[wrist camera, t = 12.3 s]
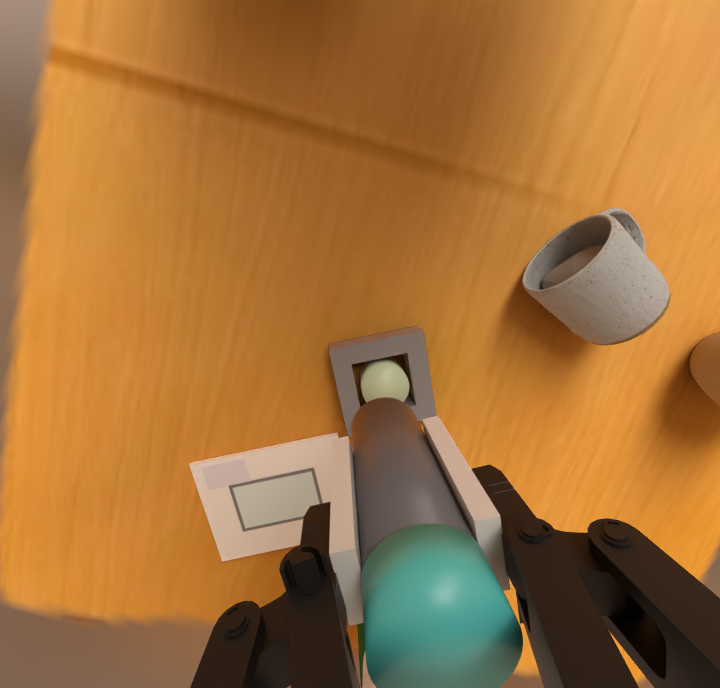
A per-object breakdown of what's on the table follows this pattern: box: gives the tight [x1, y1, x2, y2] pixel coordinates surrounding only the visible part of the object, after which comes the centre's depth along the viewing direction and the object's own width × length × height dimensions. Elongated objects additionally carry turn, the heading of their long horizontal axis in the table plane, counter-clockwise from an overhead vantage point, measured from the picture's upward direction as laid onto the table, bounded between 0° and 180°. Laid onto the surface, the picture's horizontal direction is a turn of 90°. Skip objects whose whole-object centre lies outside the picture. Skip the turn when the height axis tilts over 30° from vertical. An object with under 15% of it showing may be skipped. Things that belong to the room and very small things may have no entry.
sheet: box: [189, 432, 339, 562], centre depth 35 cm, size 11×14×1 cm
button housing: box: [329, 326, 436, 437], centre depth 32 cm, size 8×8×2 cm
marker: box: [351, 397, 523, 688], centre depth 14 cm, size 4×4×12 cm
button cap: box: [359, 357, 409, 402], centre depth 31 cm, size 4×4×3 cm
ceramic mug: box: [522, 208, 670, 345], centre depth 28 cm, size 11×8×8 cm
